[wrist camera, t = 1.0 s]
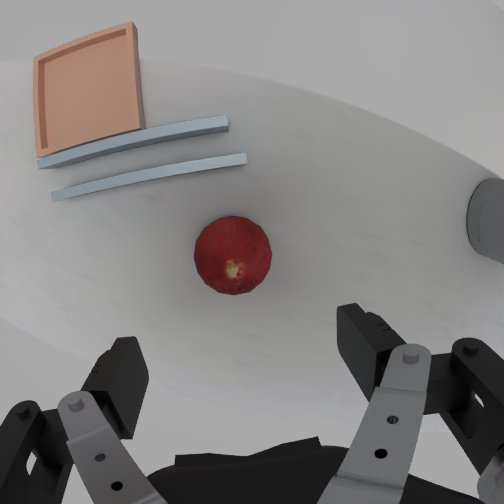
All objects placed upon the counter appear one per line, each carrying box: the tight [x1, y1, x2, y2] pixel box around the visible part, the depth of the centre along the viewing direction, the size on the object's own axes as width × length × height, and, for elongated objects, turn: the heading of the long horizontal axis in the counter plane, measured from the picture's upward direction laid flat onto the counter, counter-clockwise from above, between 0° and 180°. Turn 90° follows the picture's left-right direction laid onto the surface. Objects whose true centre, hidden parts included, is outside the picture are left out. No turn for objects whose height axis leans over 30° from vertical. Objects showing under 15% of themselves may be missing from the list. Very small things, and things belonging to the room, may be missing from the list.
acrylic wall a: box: [51, 153, 248, 202], centre depth 24 cm, size 16×1×4 cm, turn 98°
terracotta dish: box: [33, 21, 145, 158], centre depth 22 cm, size 10×10×2 cm
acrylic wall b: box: [37, 115, 228, 169], centre depth 23 cm, size 16×1×4 cm, turn 98°
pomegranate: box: [194, 216, 272, 295], centre depth 24 cm, size 6×6×8 cm
